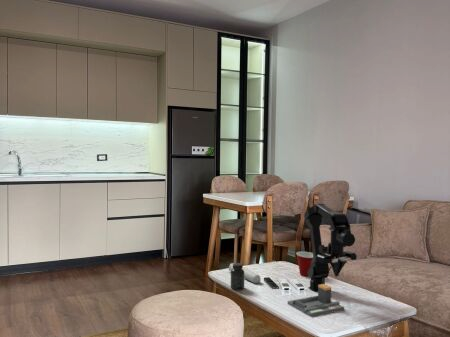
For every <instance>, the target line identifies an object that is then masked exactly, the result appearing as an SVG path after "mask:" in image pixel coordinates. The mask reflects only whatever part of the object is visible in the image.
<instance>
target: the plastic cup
mask: <svg viewBox="0 0 450 337" xmlns="http://www.w3.org/2000/svg"><path fill="white" fill-rule="evenodd" d="M295 254H296V256H297V263H298V264H297V265H298V271H299V275H300V276H302V277H308V278H309V276H308V270H309V269H310V267H311V261H312V259H313V252H309V251H296V253H295Z"/></svg>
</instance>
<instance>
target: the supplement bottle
mask: <svg viewBox="0 0 450 337" xmlns="http://www.w3.org/2000/svg"><path fill="white" fill-rule="evenodd" d="M233 263H234V264H233V269H232V270H231V272H230V289H231V290H233V291H242V290H244V289H245V278H244V270H243V269H242V268H244V267H243V264H242V262H233Z"/></svg>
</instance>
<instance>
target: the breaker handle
mask: <svg viewBox="0 0 450 337" xmlns="http://www.w3.org/2000/svg"><path fill="white" fill-rule="evenodd" d="M317 296H318V301H320V302H322V303H324V304H325V303H330V302H331V301H332V287H331V286H330V285H327V284H326V283H325V284H320V285H318V292H317Z"/></svg>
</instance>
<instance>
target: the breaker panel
mask: <svg viewBox="0 0 450 337" xmlns="http://www.w3.org/2000/svg"><path fill="white" fill-rule="evenodd" d="M340 303H341V302H340V301H339V300H336V301H335V300H334V301H332V300H331V302H330V303H325V304H324V303H322V302H320V301H318V295H314V296H309V297H304V298H297V299H292V300H288V301H287V305H289V306H290V307H292V308H293V309H296V310H298V311H299V312H301V313H303V314H305V315H306V316H309V317H310V318H311V317H317V316H321V315H325V314H330V313H331V314H332V313H336V312H341V311H345V306H343V305H341V304H340Z"/></svg>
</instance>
